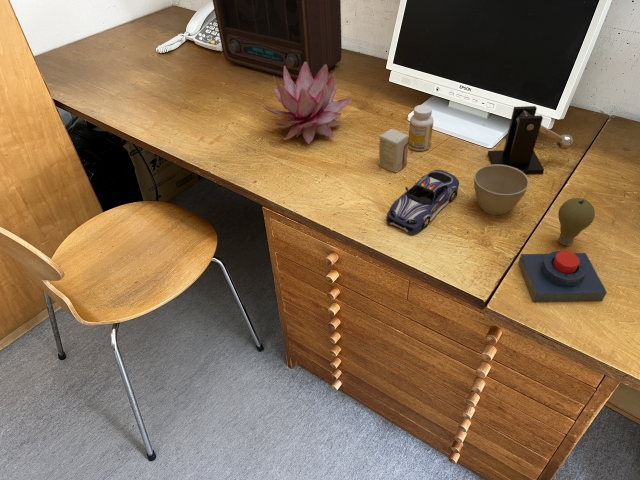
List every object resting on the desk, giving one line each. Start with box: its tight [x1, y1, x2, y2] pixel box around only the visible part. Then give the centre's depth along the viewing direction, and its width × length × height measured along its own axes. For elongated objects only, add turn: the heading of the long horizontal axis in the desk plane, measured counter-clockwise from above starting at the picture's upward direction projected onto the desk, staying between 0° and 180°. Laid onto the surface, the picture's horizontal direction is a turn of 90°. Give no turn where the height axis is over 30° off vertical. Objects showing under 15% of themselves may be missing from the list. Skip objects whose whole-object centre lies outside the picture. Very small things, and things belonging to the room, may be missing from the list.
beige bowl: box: [473, 164, 530, 216], centre depth 93 cm, size 10×10×7 cm
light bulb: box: [557, 197, 596, 246], centre depth 84 cm, size 6×6×10 cm
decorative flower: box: [260, 62, 353, 145], centre depth 117 cm, size 21×21×15 cm
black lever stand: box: [487, 105, 545, 175], centre depth 102 cm, size 10×8×13 cm
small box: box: [378, 128, 409, 174], centre depth 106 cm, size 5×4×8 cm
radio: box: [212, 0, 343, 80], centre depth 143 cm, size 36×18×30 cm, turn 54°
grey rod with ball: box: [516, 110, 574, 150], centre depth 101 cm, size 14×3×3 cm, turn 89°
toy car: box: [385, 169, 460, 235], centre depth 96 cm, size 8×18×5 cm, turn 139°
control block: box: [517, 250, 608, 303], centre depth 80 cm, size 11×9×4 cm
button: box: [553, 250, 580, 274], centre depth 78 cm, size 4×4×2 cm
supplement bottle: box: [408, 104, 434, 152], centre depth 111 cm, size 5×5×10 cm
